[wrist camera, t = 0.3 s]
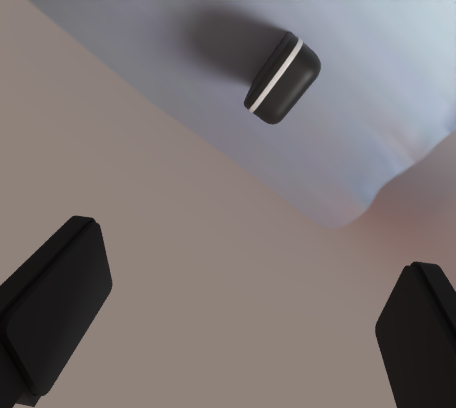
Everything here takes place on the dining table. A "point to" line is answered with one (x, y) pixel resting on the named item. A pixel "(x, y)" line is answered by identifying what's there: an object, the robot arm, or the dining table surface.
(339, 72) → the dining table surface
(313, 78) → the battery charger
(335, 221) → the dining table surface
